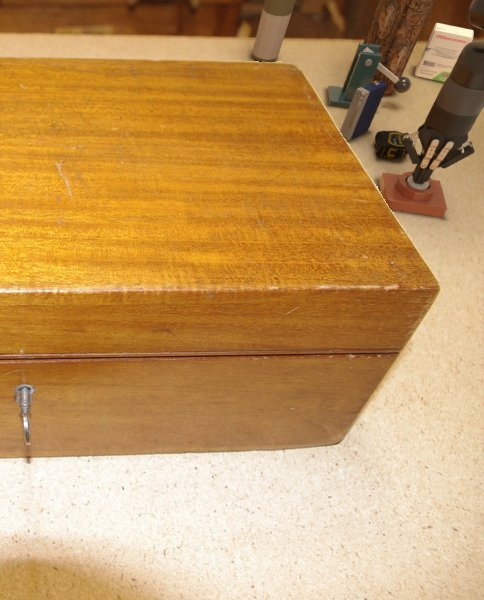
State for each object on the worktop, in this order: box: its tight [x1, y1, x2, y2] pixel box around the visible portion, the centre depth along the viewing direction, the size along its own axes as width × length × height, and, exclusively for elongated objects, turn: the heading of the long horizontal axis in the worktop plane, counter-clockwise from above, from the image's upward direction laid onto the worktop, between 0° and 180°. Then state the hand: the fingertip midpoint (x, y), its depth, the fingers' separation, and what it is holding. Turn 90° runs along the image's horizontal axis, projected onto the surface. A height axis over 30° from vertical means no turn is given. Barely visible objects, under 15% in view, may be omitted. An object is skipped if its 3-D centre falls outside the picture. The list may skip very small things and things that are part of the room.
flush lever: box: [358, 47, 412, 94], centre depth 157 cm, size 14×4×4 cm, turn 77°
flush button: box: [406, 176, 429, 190], centre depth 137 cm, size 4×4×2 cm
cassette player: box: [339, 80, 388, 142], centre depth 150 cm, size 7×2×12 cm, turn 123°
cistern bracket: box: [327, 42, 382, 109], centre depth 159 cm, size 10×7×13 cm
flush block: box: [378, 171, 448, 218], centre depth 138 cm, size 11×9×4 cm
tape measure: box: [374, 130, 408, 160], centre depth 149 cm, size 7×7×4 cm
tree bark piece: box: [362, 0, 436, 97], centre depth 162 cm, size 16×6×25 cm, turn 175°
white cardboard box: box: [414, 22, 475, 83], centre depth 168 cm, size 9×5×12 cm, turn 64°
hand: (417, 181), depth 137 cm, fingers closed
